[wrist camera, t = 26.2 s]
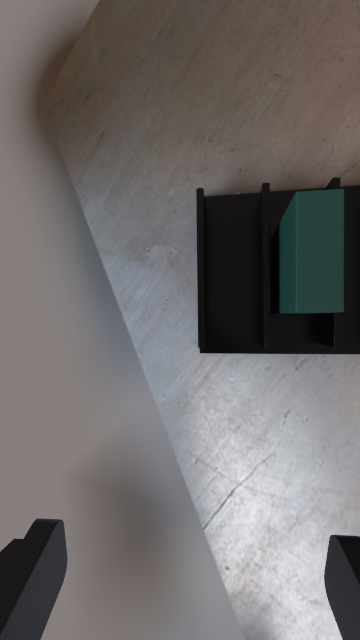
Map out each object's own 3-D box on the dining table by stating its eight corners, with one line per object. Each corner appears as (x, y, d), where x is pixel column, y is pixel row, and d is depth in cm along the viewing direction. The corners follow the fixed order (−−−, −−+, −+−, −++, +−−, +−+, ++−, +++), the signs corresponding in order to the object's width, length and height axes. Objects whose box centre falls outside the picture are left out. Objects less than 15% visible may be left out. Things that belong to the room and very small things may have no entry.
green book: (273, 313, 30) (295, 312, 20) (273, 232, 30) (295, 191, 20) (305, 313, 30) (344, 311, 20) (305, 231, 29) (344, 188, 20)
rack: (386, 353, 29) (422, 361, 24) (200, 352, 32) (194, 359, 27) (385, 187, 29) (421, 157, 24) (198, 200, 32) (192, 177, 27)
